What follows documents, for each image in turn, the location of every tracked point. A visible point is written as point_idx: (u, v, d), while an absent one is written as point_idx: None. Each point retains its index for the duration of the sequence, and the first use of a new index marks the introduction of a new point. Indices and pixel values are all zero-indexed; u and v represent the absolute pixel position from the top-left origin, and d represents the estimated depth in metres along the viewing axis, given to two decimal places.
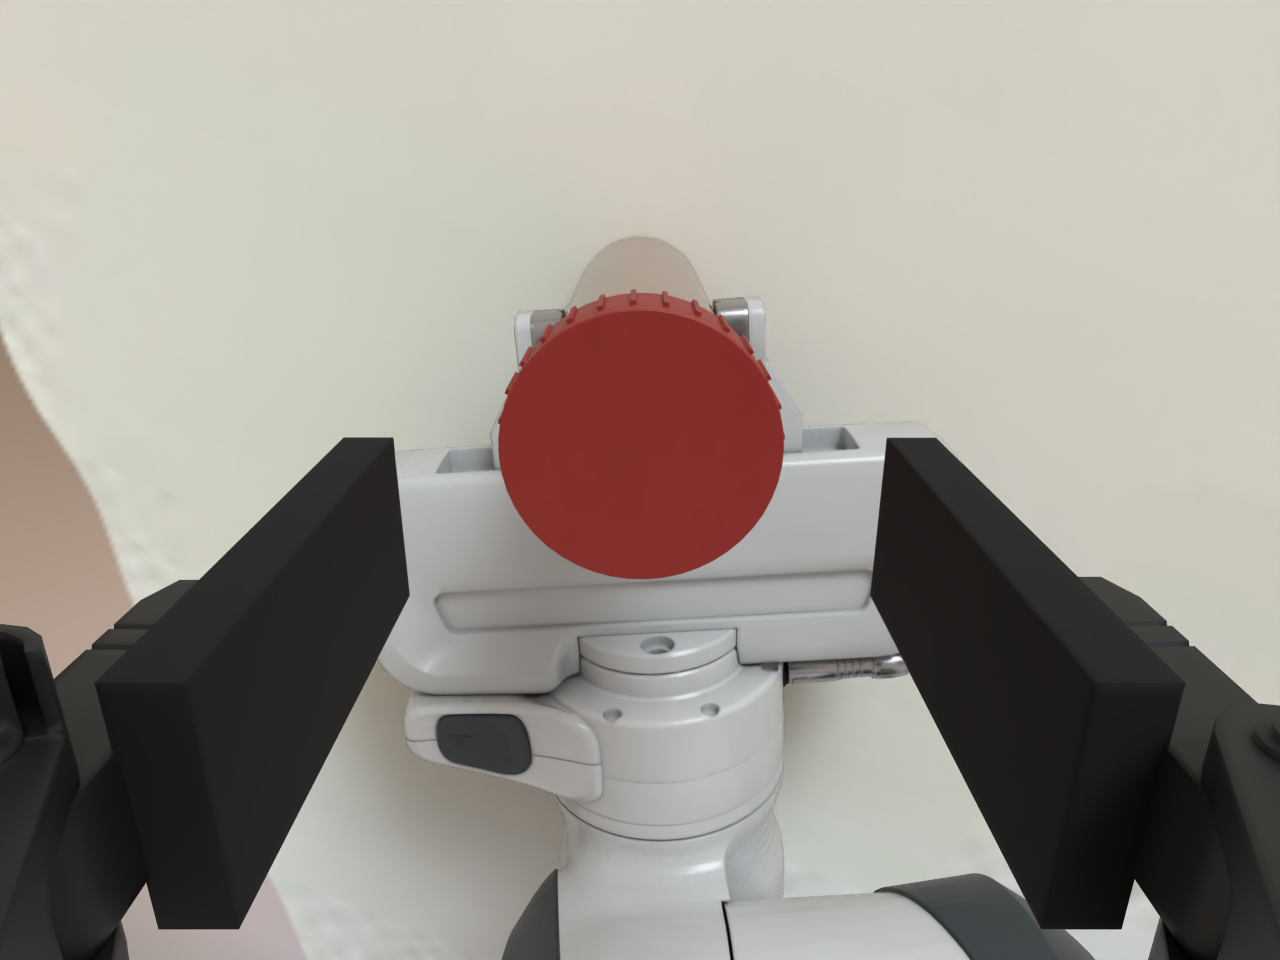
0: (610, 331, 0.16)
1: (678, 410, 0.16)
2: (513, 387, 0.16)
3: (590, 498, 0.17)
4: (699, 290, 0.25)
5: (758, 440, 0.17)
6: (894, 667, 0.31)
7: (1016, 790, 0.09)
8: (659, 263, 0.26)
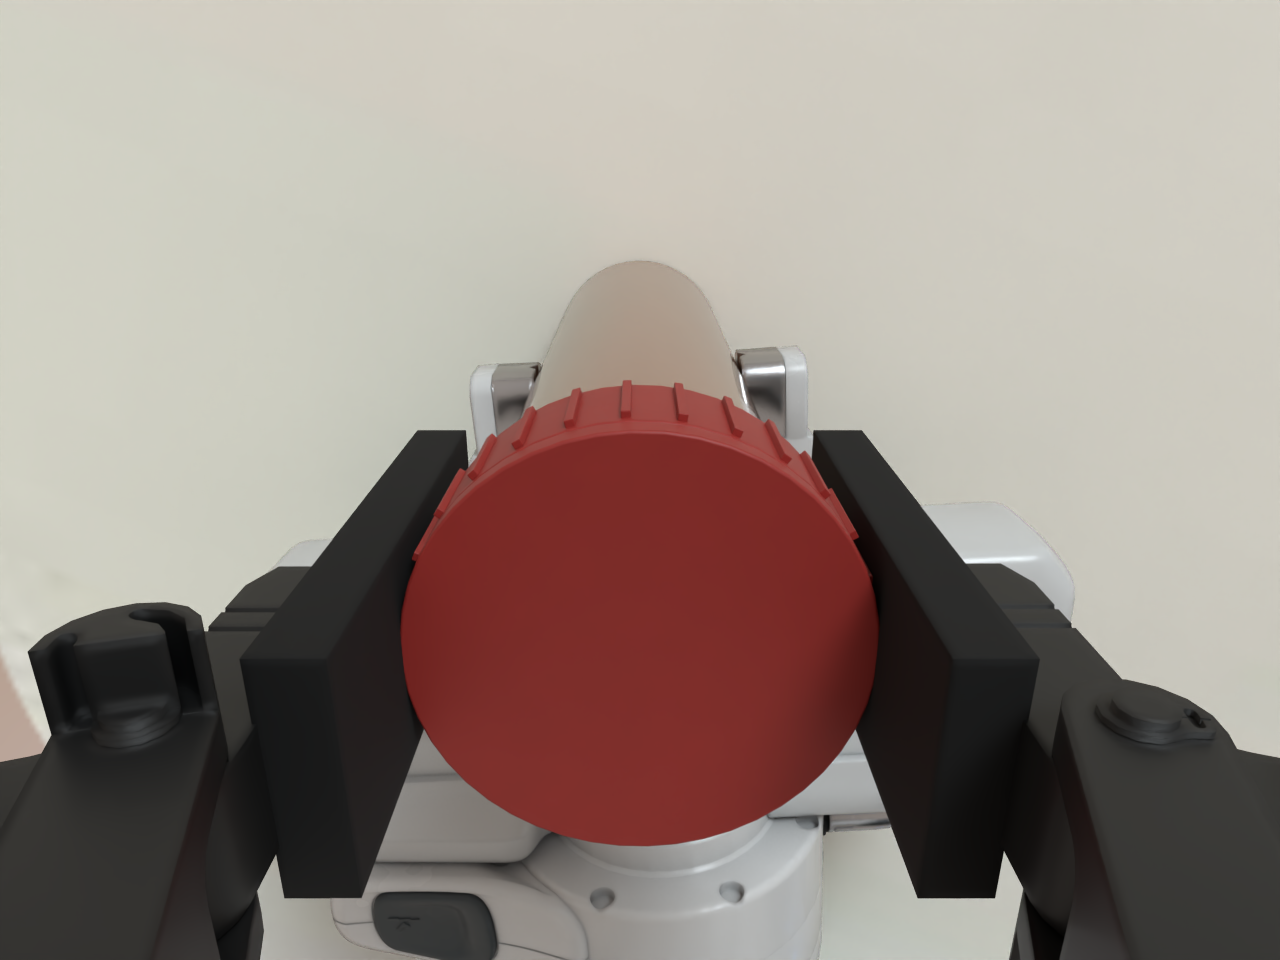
0: (586, 468, 0.09)
1: (703, 594, 0.10)
2: (421, 559, 0.10)
3: (556, 728, 0.10)
4: (720, 344, 0.18)
5: (837, 641, 0.10)
6: None
7: (901, 766, 0.09)
8: (665, 305, 0.19)
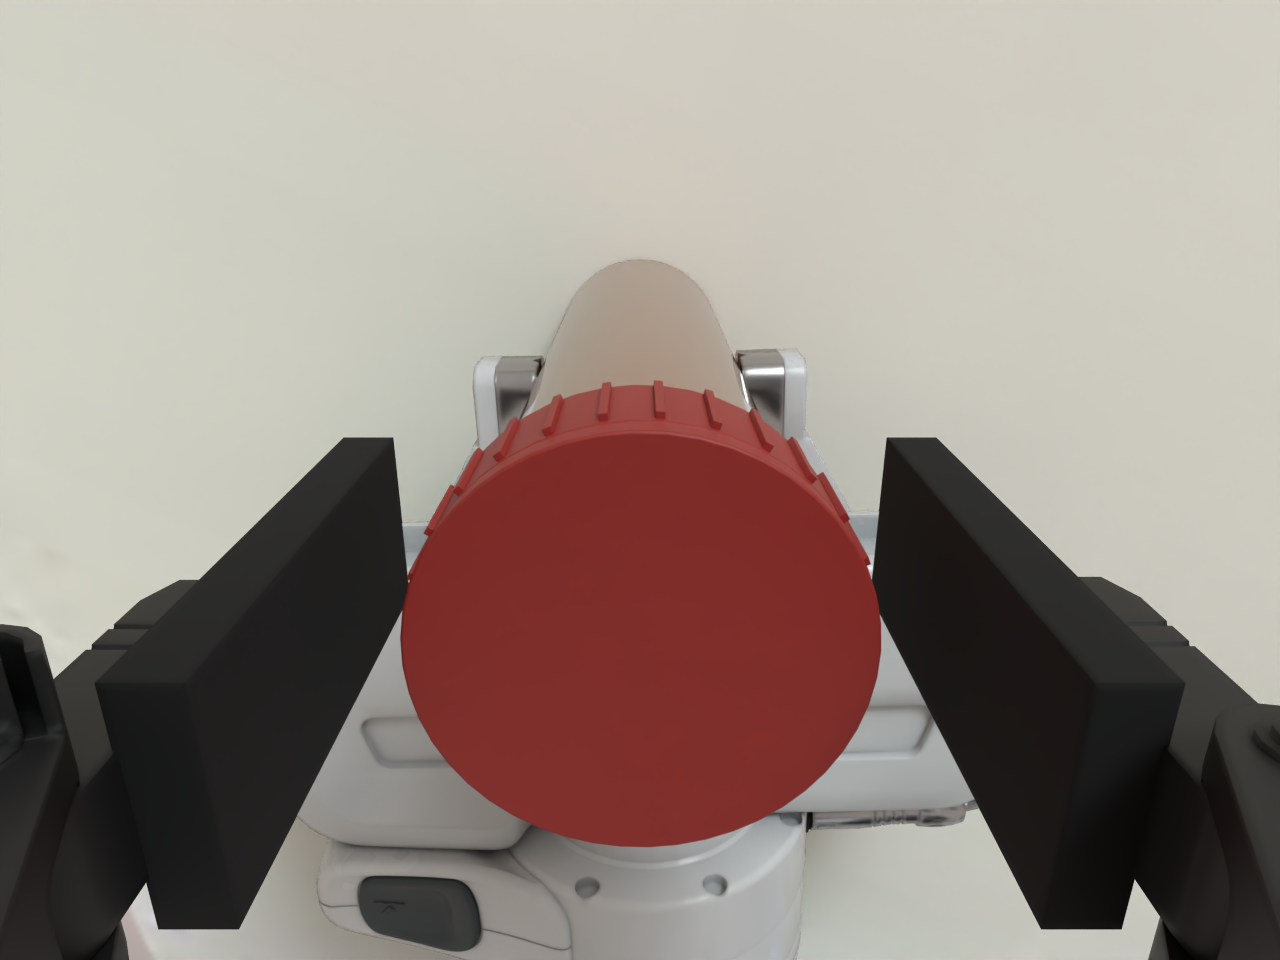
0: (433, 679, 0.10)
1: (574, 597, 0.10)
2: (512, 814, 0.11)
3: (709, 739, 0.10)
4: (722, 344, 0.18)
5: (646, 475, 0.09)
6: (946, 815, 0.25)
7: (1015, 790, 0.09)
8: (669, 304, 0.19)
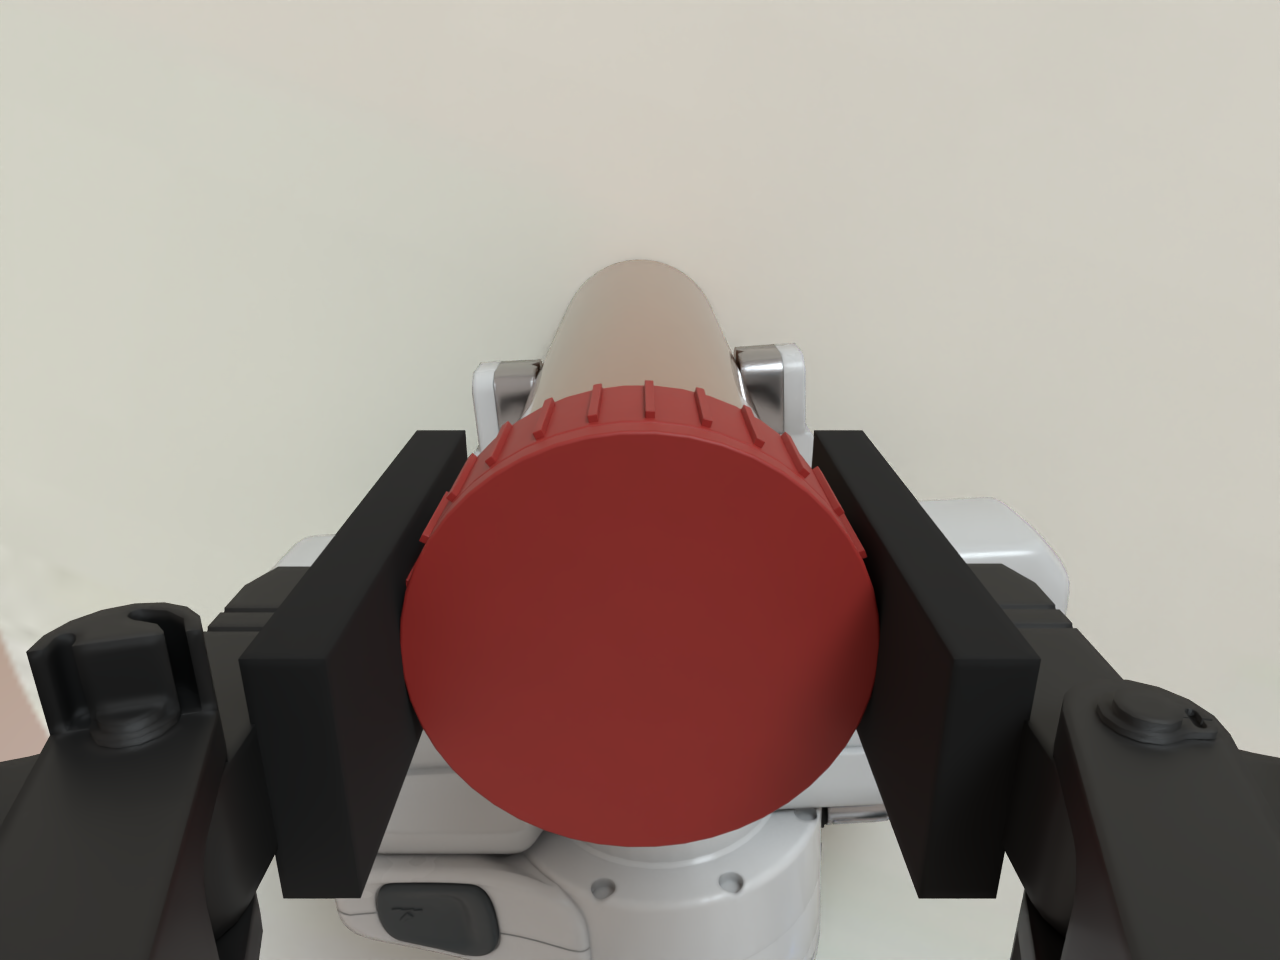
0: (434, 685, 0.10)
1: (570, 599, 0.10)
2: None
3: (711, 738, 0.10)
4: (719, 341, 0.18)
5: (637, 475, 0.09)
6: None
7: (902, 767, 0.09)
8: (665, 303, 0.19)
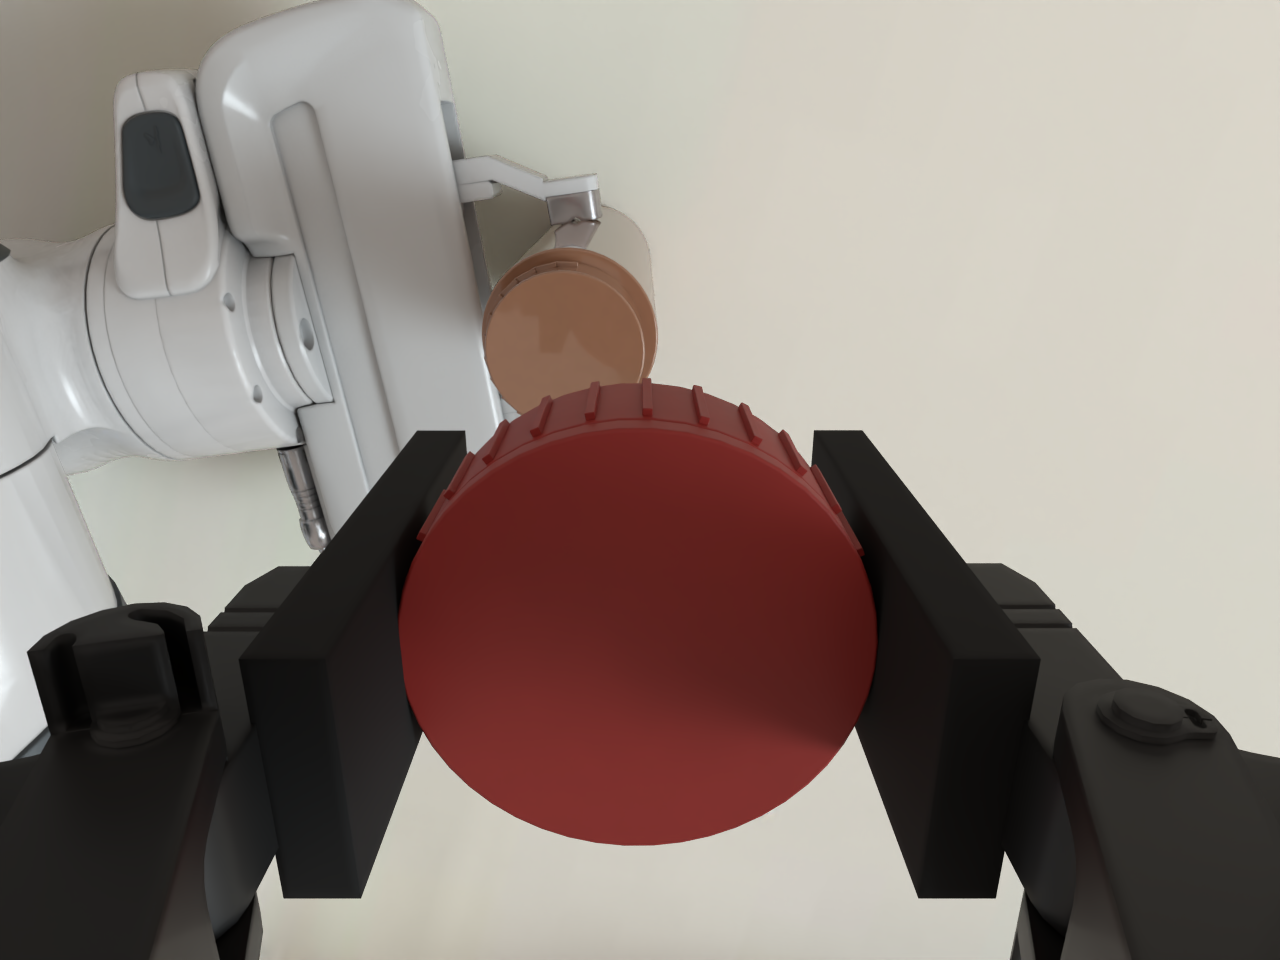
0: (431, 684, 0.10)
1: (568, 598, 0.10)
2: (515, 816, 0.11)
3: (709, 736, 0.10)
4: None
5: (634, 473, 0.09)
6: (316, 537, 0.35)
7: (901, 766, 0.09)
8: None
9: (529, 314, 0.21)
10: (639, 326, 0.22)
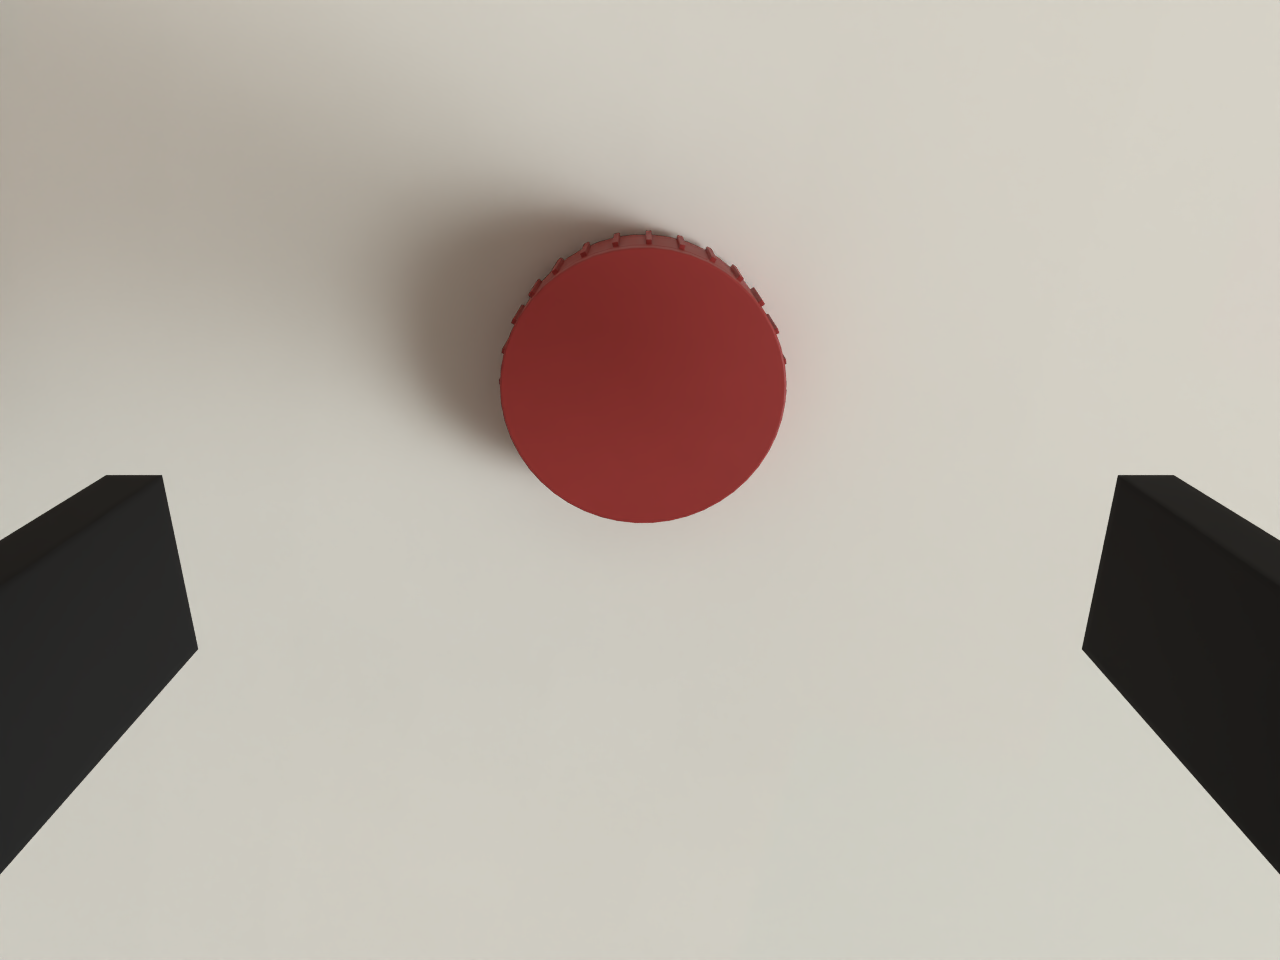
0: (520, 411, 0.17)
1: (602, 354, 0.16)
2: (568, 501, 0.18)
3: (686, 446, 0.17)
4: None
5: (641, 275, 0.16)
6: None
7: None
8: None
9: None
10: None
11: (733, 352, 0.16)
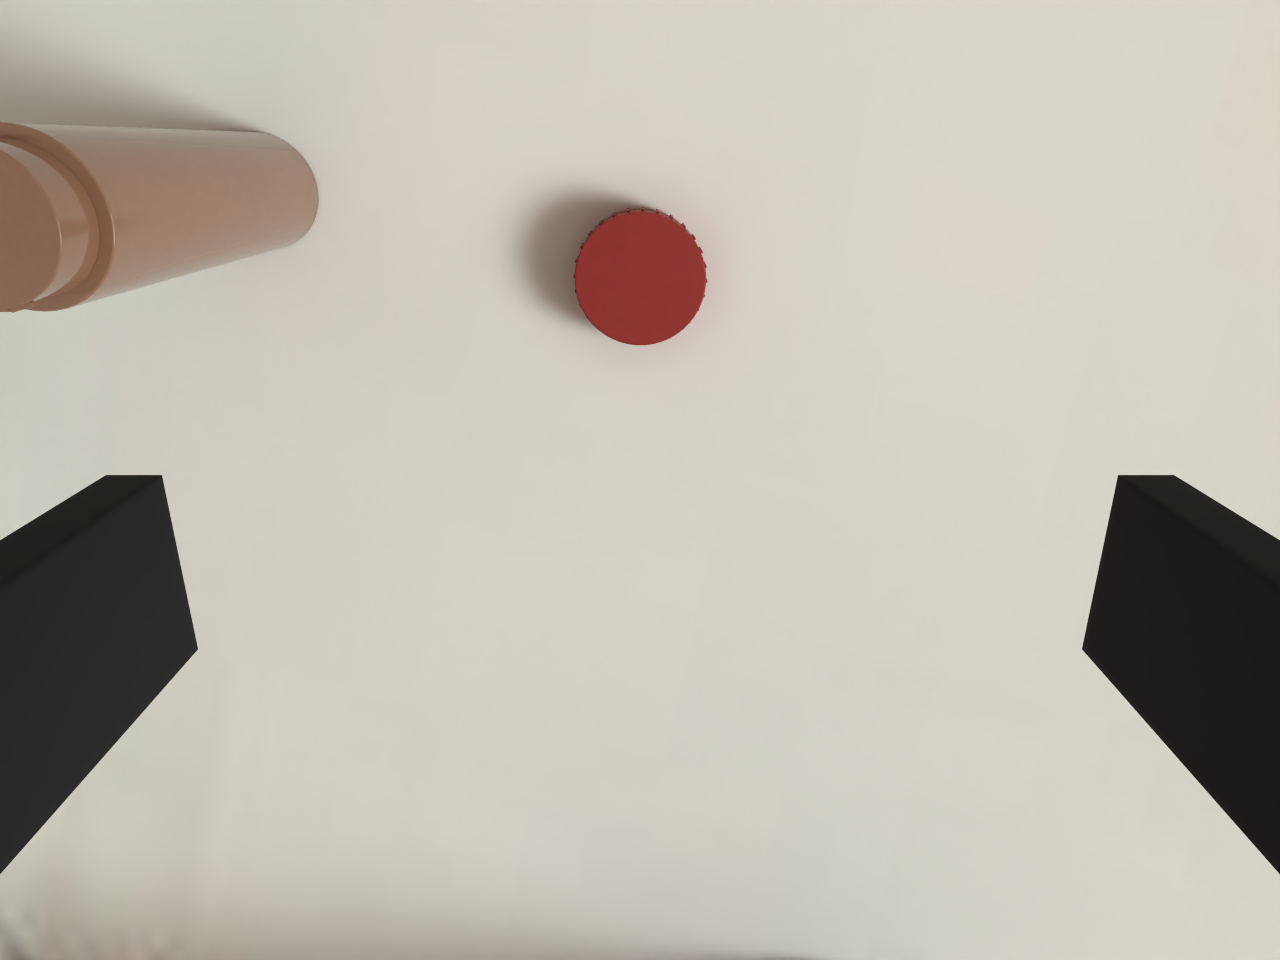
0: (583, 288, 0.37)
1: (621, 261, 0.36)
2: (605, 334, 0.37)
3: (660, 305, 0.37)
4: (224, 250, 0.30)
5: (639, 224, 0.36)
6: None
7: None
8: (245, 212, 0.30)
9: None
10: (47, 196, 0.21)
11: (681, 260, 0.36)
